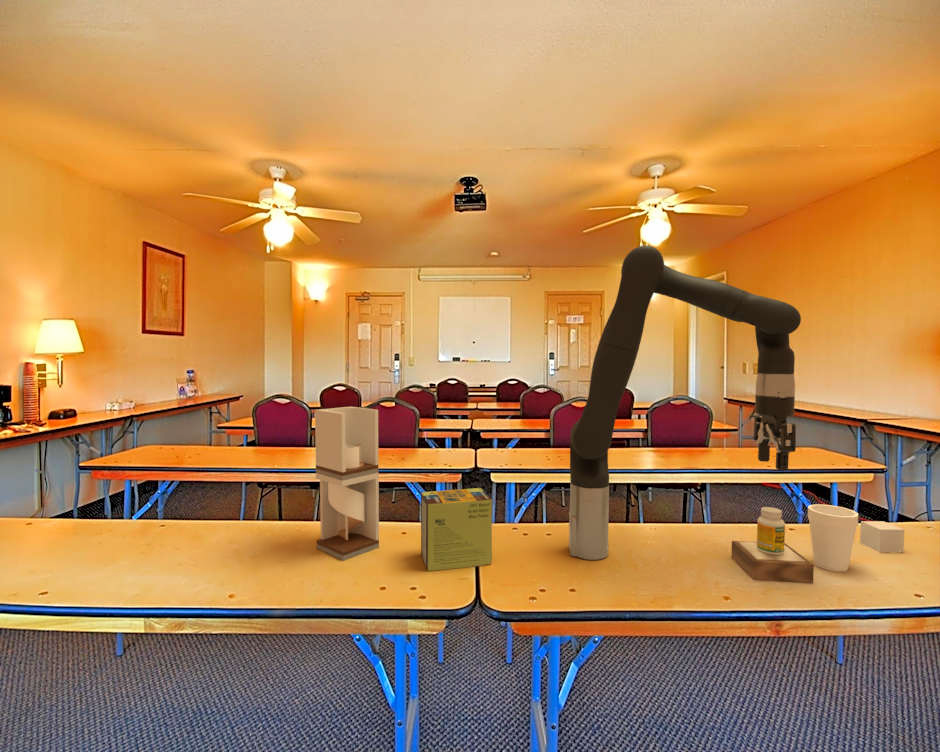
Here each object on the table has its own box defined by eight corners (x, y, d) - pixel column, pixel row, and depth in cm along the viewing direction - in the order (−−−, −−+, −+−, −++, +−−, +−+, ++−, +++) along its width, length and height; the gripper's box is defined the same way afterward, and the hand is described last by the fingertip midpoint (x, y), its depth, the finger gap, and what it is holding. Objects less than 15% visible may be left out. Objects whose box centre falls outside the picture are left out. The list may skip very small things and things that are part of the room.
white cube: (879, 553, 121) (880, 529, 121) (859, 544, 127) (860, 521, 127) (903, 553, 121) (904, 529, 121) (882, 543, 127) (883, 521, 127)
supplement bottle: (763, 544, 115) (765, 504, 115) (788, 552, 111) (790, 510, 110) (751, 549, 112) (753, 508, 112) (777, 557, 108) (778, 514, 107)
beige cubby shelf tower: (316, 548, 123) (315, 409, 122) (352, 536, 131) (350, 406, 130) (343, 560, 116) (341, 413, 114) (378, 547, 124) (378, 409, 122)
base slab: (753, 579, 106) (754, 560, 106) (731, 557, 118) (731, 539, 118) (813, 583, 105) (813, 563, 105) (784, 559, 117) (785, 542, 117)
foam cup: (850, 561, 116) (852, 507, 115) (862, 577, 107) (864, 519, 107) (802, 554, 120) (804, 502, 119) (810, 569, 111) (812, 513, 111)
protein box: (492, 565, 114) (492, 499, 113) (427, 572, 110) (427, 504, 109) (480, 547, 124) (480, 487, 123) (420, 553, 120) (420, 491, 119)
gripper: (743, 391, 117) (741, 458, 118) (772, 396, 103) (769, 472, 104) (777, 391, 116) (774, 459, 117) (810, 396, 102) (807, 473, 103)
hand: (772, 465), depth 111 cm, fingers open, 8 cm apart
